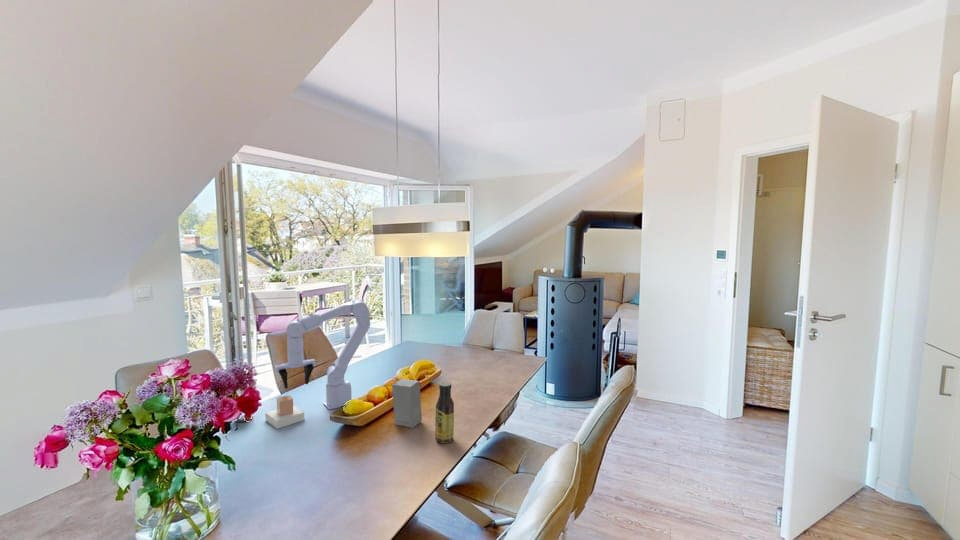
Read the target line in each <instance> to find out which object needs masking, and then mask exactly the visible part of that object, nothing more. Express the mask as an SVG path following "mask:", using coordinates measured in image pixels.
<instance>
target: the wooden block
mask: <svg viewBox="0 0 960 540" xmlns="http://www.w3.org/2000/svg"><path fill="white" fill-rule="evenodd" d="M293 405H294V398H293V397H292V396H291V395H289V394H288V395H285V396H280V397H277V398H276V409H277V413H278V414H279V416H284V415H289V414H293Z"/></svg>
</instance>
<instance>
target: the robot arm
mask: <svg viewBox="0 0 960 540" xmlns="http://www.w3.org/2000/svg"><path fill="white" fill-rule="evenodd" d="M370 314H371V311H370V309H369V307H368V305H367V304H366V303H365V301H364V300H363V299H358V298H357V299H354V300H353V301H347V302H344V303H342V304H340V305H338V306H336V307H333V308H330V309H329V310H326V311H324V312H322V313H317V312H314V313H313V312H309V315H306V316H304V317H302V318H301V317H298V318H296V320H291V321H290V322H289V323H288V324H287V326H286V333H287V336H286V337H287V341H286V345H287V347H286V350H287V352H286V353H287V362H285V363H281V364H276V365H275V366H274V371H275V372H276V373H277V372H278V373H279V376H280V377H281V380H282V382H283V388H284V389H288V372H287V370H291V369H296V368H301V367H303V371H304V383H305V385H309V382H310V379H311V378H310V377H311V375H312V372H313V370H314V366H315V365H316V359H315V358H311V359H304V358H305V357H304V339H303V333H308V332H310V331H312V330H315V329H317V328H320V327H321V326H322V325H323V323H324V322H327V321H329V320H331V319H334V318H337V317H339V316H343V315H345V316H350V317H351V316H352V315H353V316H354V318H355V321H356V324H357V325H356V326H355V328H354V329H353V332H352V333H351V334H350V337H348V340H347V341H346V343H345V345H344V346H343V349H342V350H341V352H340V354H339V355H338V357H337V358H336V359H335V360H334V361H333V363H332V364H331V365H329V366H328V368H327V369H326V376H327V378H326V379H327V380H326V382H325V391H326V392H325V393H326V399H325V401H323V402H322V403H323V405H324V406H325V407H326V408H327V409H328V410H334V409H337V408H341V406H342V407H344V406H343V405H344V404H345V403H346V402H347V401H349V400H352V399H353V398H352V397H353V396H352V384H351V382H350V381H349V380H345V374H346V372H347V370H348V365H350V362H351V361H352V359H353V357H354V355H355V353H356V352H357V350H358V348H359V346H360V344H361V343H362V342H363V340H364V339H365V336H366V335H367V332H368V331H369V329H370V327H371V318H370V317H371V315H370ZM316 366H317V365H316ZM352 401H353V400H352Z"/></svg>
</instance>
